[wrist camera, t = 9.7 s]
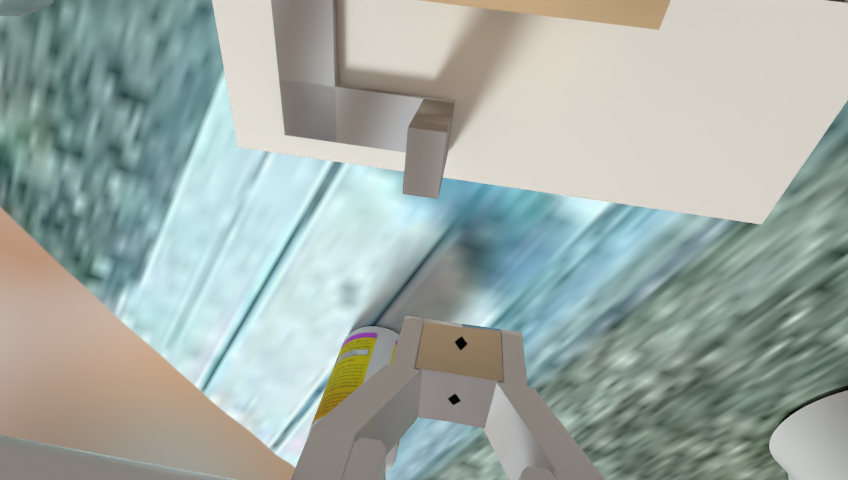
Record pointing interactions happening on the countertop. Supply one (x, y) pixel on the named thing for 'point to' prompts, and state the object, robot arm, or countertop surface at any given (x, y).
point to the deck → (579, 91)
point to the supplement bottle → (359, 369)
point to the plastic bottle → (22, 6)
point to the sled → (354, 99)
